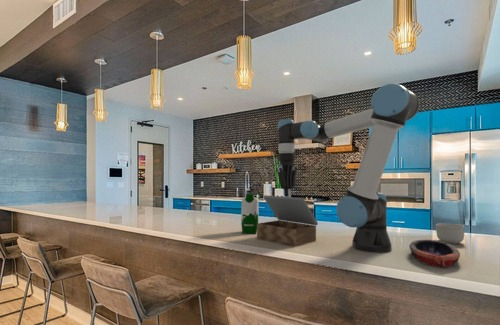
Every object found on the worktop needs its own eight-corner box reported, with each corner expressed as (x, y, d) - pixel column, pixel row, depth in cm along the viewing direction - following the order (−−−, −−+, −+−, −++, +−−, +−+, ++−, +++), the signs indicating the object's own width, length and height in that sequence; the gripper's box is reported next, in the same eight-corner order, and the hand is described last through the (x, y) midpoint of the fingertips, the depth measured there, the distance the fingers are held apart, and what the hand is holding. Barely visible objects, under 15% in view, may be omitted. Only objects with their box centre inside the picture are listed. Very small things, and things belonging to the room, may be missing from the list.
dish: (453, 252, 119) (453, 240, 119) (466, 275, 92) (465, 258, 92) (409, 247, 127) (409, 235, 127) (409, 267, 100) (408, 252, 100)
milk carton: (240, 233, 152) (240, 194, 153) (242, 230, 161) (242, 193, 162) (257, 234, 151) (257, 194, 152) (258, 231, 160) (259, 193, 161)
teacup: (469, 245, 130) (468, 227, 131) (441, 244, 133) (441, 226, 133) (454, 239, 144) (454, 222, 144) (429, 238, 146) (429, 221, 147)
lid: (316, 225, 137) (318, 222, 137) (302, 200, 129) (303, 197, 130) (278, 219, 153) (279, 217, 154) (263, 197, 146) (264, 194, 146)
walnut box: (316, 241, 137) (316, 225, 137) (294, 246, 125) (294, 230, 126) (278, 234, 152) (279, 220, 153) (257, 238, 141) (257, 223, 141)
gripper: (288, 153, 148) (290, 201, 148) (271, 153, 139) (272, 203, 139) (301, 152, 143) (302, 202, 142) (284, 152, 134) (285, 204, 133)
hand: (287, 202), depth 141 cm, fingers closed
